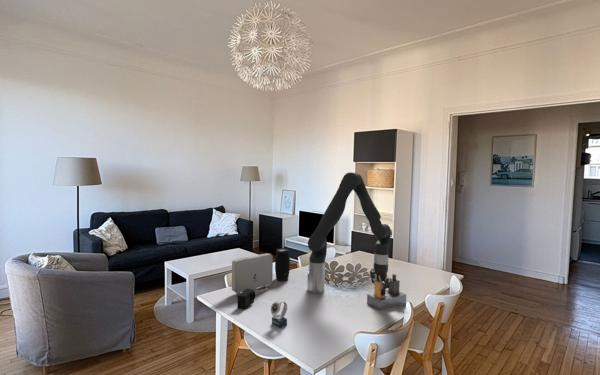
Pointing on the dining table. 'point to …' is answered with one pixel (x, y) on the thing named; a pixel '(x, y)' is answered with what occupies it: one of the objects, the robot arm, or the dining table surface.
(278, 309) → the watch
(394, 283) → the twin plug
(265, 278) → the network device
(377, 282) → the orange plug
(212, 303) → the dining table surface
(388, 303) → the grey stone block holder
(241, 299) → the digital camera
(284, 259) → the portable speaker
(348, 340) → the dining table surface
